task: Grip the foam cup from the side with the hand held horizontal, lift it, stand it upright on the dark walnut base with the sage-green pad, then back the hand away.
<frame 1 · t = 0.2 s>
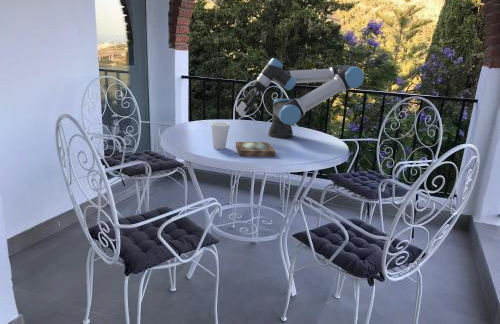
hand: (239, 113, 234), 15 cm above the table, tool tilted 35°, fingers open, 13 cm apart
walnut base: (254, 151, 216), on the table
foam cup: (219, 148, 220), on the table
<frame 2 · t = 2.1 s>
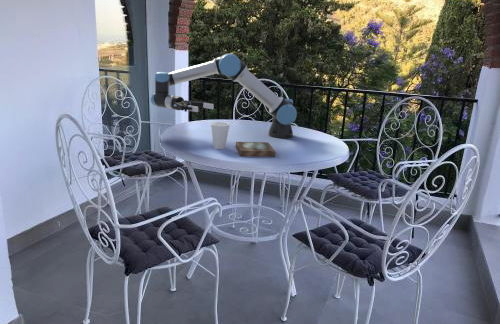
hand: (205, 108, 218), 20 cm above the table, tool horizontal, fingers open, 13 cm apart
nothing on the table moved.
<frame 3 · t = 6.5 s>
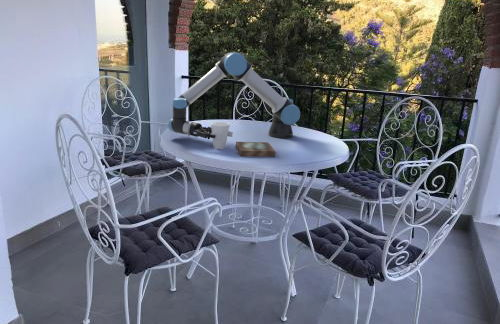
hand: (226, 135, 215), 7 cm above the table, tool horizontal, fingers closed on foam cup, 9 cm apart
foam cup: (219, 148, 220), on the table, touching gripper
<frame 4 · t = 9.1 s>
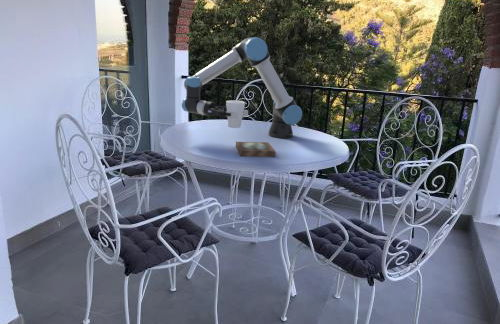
hand: (242, 114, 209), 20 cm above the table, tool horizontal, fingers closed on foam cup, 9 cm apart
foam cup: (234, 127, 214), point 12 cm above the table, touching gripper
when the fingers open (12 cm above the table, at t = 12.2 s): foam cup drops 1 cm, resting on walnut base.
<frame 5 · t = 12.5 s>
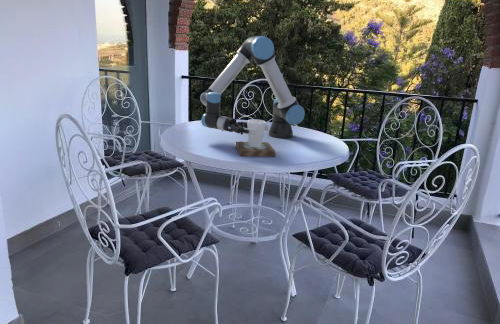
hand: (261, 130, 211), 12 cm above the table, tool horizontal, fingers open, 13 cm apart
foam cup: (254, 146, 215), point 3 cm above the table, touching walnut base
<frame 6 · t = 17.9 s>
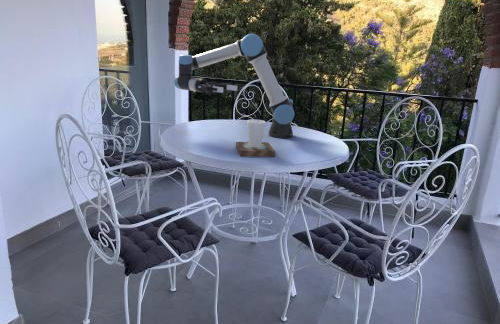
hand: (230, 89, 221), 30 cm above the table, tool horizontal, fingers open, 13 cm apart
nothing on the table moved.
at the end: foam cup inside the target area on the walnut base (0.1 cm from its centre), point 3.1 cm above the walnut base's base; foam cup tilted 0°; the gripper is holding nothing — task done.
